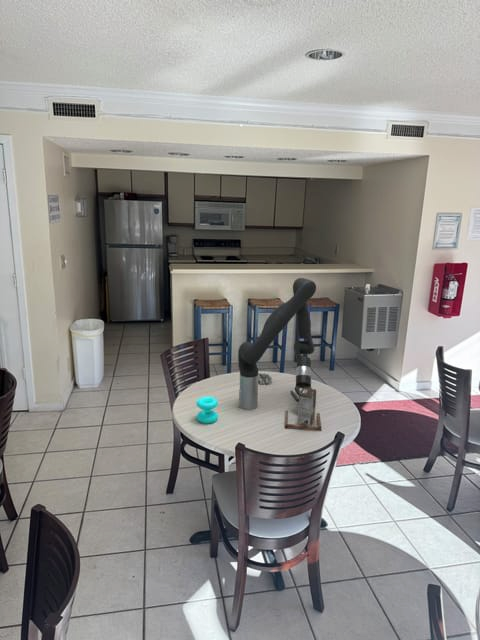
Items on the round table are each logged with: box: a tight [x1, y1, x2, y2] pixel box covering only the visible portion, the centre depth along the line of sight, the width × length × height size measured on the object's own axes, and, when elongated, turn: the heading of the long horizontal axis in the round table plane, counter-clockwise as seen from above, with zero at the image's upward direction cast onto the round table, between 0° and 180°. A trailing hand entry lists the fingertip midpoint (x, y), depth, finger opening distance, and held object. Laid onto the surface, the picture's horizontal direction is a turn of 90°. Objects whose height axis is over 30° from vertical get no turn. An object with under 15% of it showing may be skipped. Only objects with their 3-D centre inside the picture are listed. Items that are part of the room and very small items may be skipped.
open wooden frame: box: [284, 410, 322, 432], centre depth 206 cm, size 16×14×2 cm
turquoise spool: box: [196, 396, 219, 424], centre depth 206 cm, size 10×10×10 cm
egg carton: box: [258, 372, 273, 386], centre depth 252 cm, size 11×8×4 cm
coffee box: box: [297, 387, 317, 425], centre depth 203 cm, size 9×6×16 cm
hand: (302, 410), depth 209 cm, fingers closed
